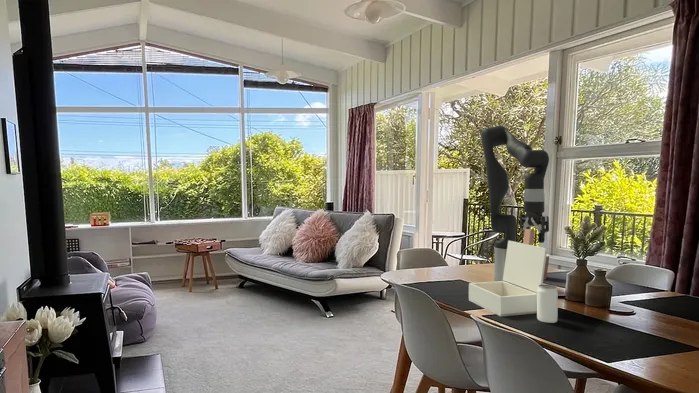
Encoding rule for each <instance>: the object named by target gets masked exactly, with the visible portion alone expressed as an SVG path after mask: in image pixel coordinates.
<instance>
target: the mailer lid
mask: <svg viewBox="0 0 699 393" xmlns="http://www.w3.org/2000/svg"><path fill="white" fill-rule="evenodd" d="M535 233H536V229H531V228H530V229H525V232H524V231H523V240H522V241H523V242H519V241H516V242H514V241H508V246H507V253H506V260H505V267H504V274H503V280H504V281H507V282H510V283H512V284H514V285H515V286H518V287H521V288H523V289H526V290H529V291H531V292H534V293H537V289H538V288H539V285H544V284H543V283H544V279H543V276H544V269H545V262H546V255H547V254H548V248H546V247H542V246H538V245H534V241H535Z"/></svg>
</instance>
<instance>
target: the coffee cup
mask: <svg viewBox="0 0 699 393" xmlns="http://www.w3.org/2000/svg"><path fill="white" fill-rule="evenodd" d="M550 256H551V254H549V253H547V255H546V262H545V269H544V276H543V280H547V275H548V271H549V270H548V269H549V261H550Z"/></svg>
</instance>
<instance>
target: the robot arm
mask: <svg viewBox="0 0 699 393" xmlns="http://www.w3.org/2000/svg"><path fill="white" fill-rule="evenodd" d="M480 135H481V136H480V139H481V145H482V150H483V155H484V161H485V167H486V168H485V169H486V180H487V187H488V188H487V189H488V194H489V205H490V206H489V208H490V211H489V212H490V213H489V214H490V228H491V230H492V232H493V233H495V234H496V233H497V234H504V238H502V239H498V240H495V242H494V264H493V265H494V268H493V269H494V272H493V274H494V279H493V282H497V281H504V280H503V274H504V267H505V260H506V253H507V246H508V241H514V242H517V241H516V240H517V225H518V223H517V218H516V216H515V215H514V214H508V213H507V214H505V213H504V214H503V213H501V204H502V202H503V200H504V198H505V196H507V192H508V191H509V187H510V186H509V176H508V172H507V171H506V169H505V168H504V167H503V165H502V163H500V161H499V160H498V159H497V157H496V155H495V151H494V148H496V147H501V146H506V151H507V153H508V154H509V156H512V157H513V158H515V159H516V160H517V162H518V163H519V165H520V166H522V167H524V168H528V169H534V170H533V172H532V173H528V174H526V175H525V176H524V191H523V212H524V213H520V214H519V215H520V216H519V229H520V230H522V231H523V233H524V232H525V229H531V228H532V227H534V229H535V230H537V233H538V234H537V243H540V244H543V243H545V241H546V239H545V237H546V233H547V232H548V233H549V232H550V218H549V216H548V215H543V213H545V197H546V196H545V177H546V172H547V170H548V167H549V166H548V165H549V162H550V157H549V156H550V155H549V154H548V152H547V151H546V150H544V149H532V147H531V145H528V143H525V142H523V141H522V140H520V139H518V138H517V137H516V136H515V135H514V134H513V133H512V132H511V131H510V130H509V129H508V128H507V127H505V126H502V125H496V126H491V127H486V128H482V131H481V134H480ZM504 282H507V281H504ZM507 283H510V282H507ZM510 284H512V283H510ZM512 285H515V284H512Z"/></svg>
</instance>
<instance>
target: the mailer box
mask: <svg viewBox="0 0 699 393" xmlns="http://www.w3.org/2000/svg"><path fill="white" fill-rule="evenodd" d="M468 301H469V302H472V303H473V304H475V305H477V306H479V307H481V308H483V309H485V310H486V311H489V312H491V313H493V314H495V315H497V316H499V317H501V318H502V317H509V316H510V317H511V316H512V317H513V316H520V315H532V314H537V292H534V291H532V290H529V289H526V288H523V287H521V286H518V285H515V284H514V285H512V284H510V283H507V282H504V281H497V282H494V281H485V282H484V281H483V282H470V283H468Z"/></svg>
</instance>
